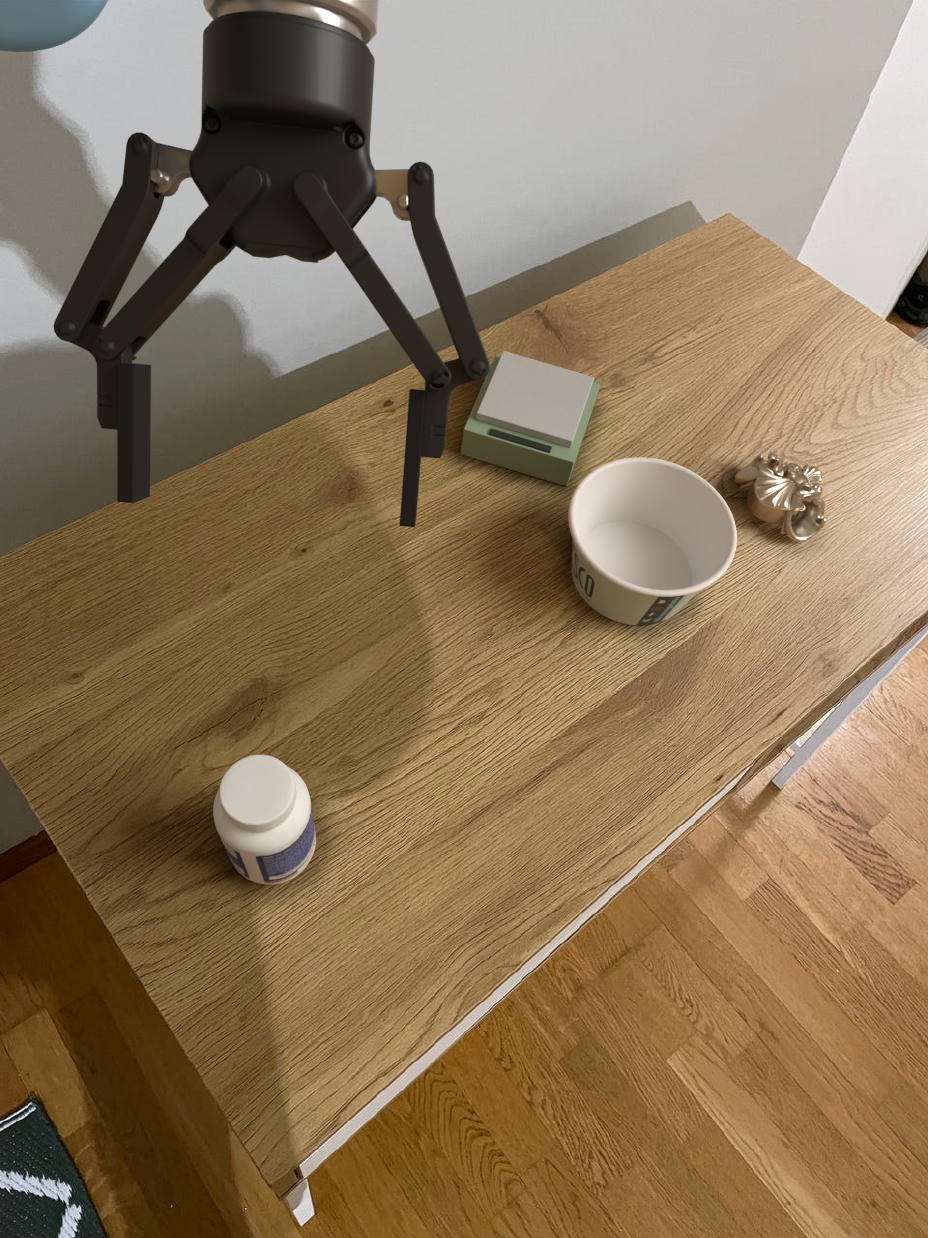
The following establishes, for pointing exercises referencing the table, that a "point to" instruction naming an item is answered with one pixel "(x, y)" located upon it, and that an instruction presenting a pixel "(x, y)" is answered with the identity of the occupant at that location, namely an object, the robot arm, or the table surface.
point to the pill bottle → (265, 819)
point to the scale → (530, 417)
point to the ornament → (784, 495)
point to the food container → (647, 538)
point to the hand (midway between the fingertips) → (272, 511)
